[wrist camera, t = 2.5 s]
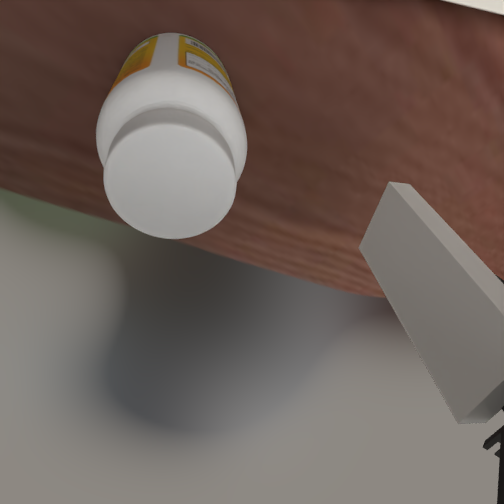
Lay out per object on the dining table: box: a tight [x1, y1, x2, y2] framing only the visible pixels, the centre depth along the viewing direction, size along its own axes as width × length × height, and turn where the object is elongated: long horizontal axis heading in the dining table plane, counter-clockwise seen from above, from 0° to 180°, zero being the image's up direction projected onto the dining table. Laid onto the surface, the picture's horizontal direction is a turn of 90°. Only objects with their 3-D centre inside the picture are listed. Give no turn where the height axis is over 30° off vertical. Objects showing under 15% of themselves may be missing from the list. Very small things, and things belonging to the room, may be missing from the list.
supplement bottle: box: [96, 33, 247, 239], centre depth 15 cm, size 5×5×10 cm
